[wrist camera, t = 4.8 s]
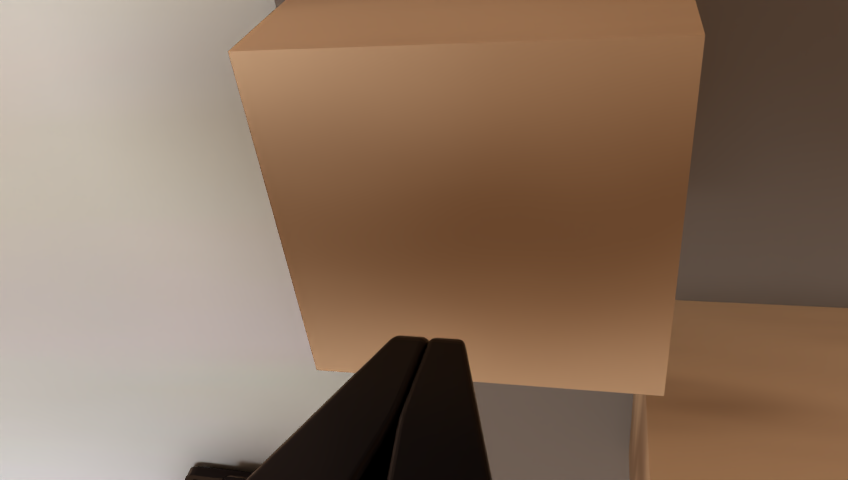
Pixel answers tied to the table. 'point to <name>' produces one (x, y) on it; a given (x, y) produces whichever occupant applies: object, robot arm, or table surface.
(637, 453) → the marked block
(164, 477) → the table surface
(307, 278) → the plain block
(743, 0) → the mat
